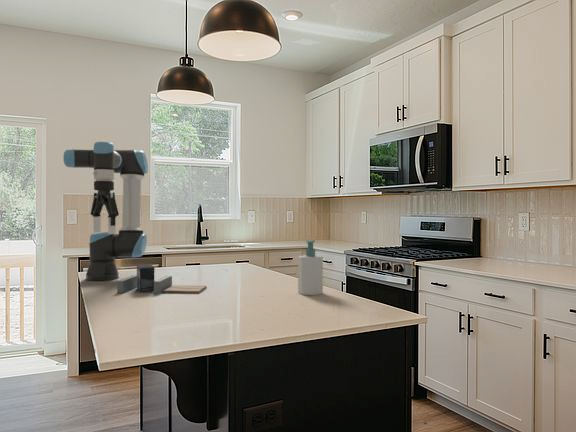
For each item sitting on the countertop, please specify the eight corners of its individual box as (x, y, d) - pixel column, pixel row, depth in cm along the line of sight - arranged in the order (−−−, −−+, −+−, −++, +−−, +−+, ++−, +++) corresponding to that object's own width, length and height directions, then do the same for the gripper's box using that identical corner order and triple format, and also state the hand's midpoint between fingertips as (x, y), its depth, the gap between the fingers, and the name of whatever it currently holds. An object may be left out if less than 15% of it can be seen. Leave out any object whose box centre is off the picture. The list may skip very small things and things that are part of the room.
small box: (136, 288, 203) (136, 264, 203) (151, 287, 206) (151, 264, 206) (139, 292, 193) (139, 267, 193) (155, 291, 196) (155, 266, 196)
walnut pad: (173, 287, 205) (173, 285, 205) (206, 288, 204) (206, 285, 204) (163, 293, 192) (163, 290, 192) (198, 293, 191) (198, 291, 191)
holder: (132, 286, 208) (132, 275, 208) (171, 286, 207) (171, 275, 207) (117, 293, 192) (117, 281, 192) (159, 293, 191) (159, 281, 191)
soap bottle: (295, 294, 190) (296, 241, 189) (300, 290, 199) (300, 239, 198) (320, 295, 187) (320, 241, 187) (324, 291, 196) (324, 239, 196)
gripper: (81, 181, 193) (82, 232, 193) (108, 179, 176) (109, 235, 176) (99, 182, 198) (100, 231, 199) (127, 180, 181) (127, 234, 181)
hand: (104, 233), depth 187 cm, fingers open, 13 cm apart
